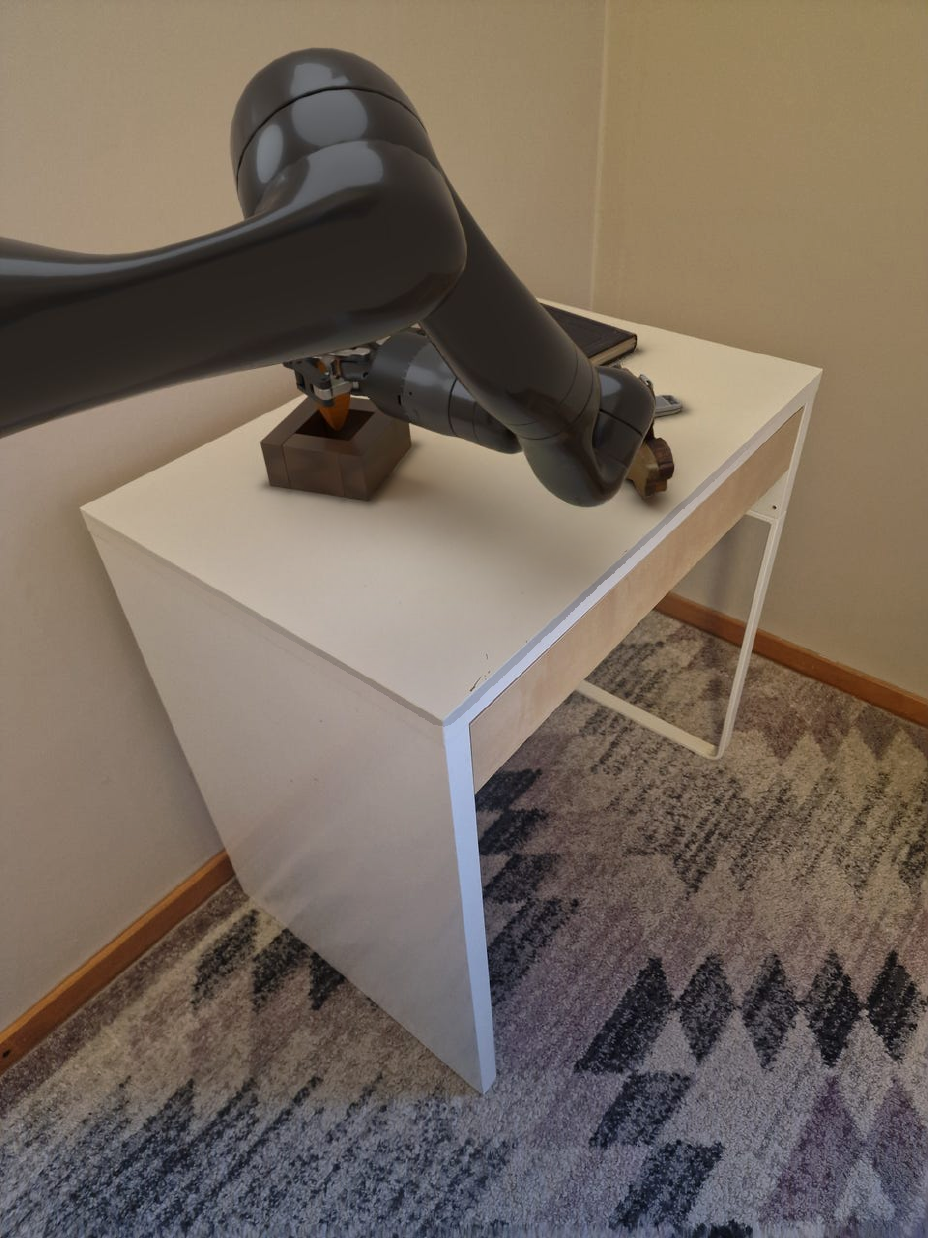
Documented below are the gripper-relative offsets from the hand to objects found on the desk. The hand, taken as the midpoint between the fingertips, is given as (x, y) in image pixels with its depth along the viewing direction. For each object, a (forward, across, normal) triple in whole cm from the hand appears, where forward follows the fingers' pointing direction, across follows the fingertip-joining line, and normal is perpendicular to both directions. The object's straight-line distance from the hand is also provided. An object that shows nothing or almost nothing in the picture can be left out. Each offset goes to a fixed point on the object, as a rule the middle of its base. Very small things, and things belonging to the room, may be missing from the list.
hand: (305, 343), depth 83 cm
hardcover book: (-1, -35, +13) cm, 37 cm away
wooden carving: (-27, -16, +13) cm, 34 cm away
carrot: (-3, 0, +9) cm, 9 cm away
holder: (-2, 0, +13) cm, 13 cm away
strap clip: (-22, -27, +13) cm, 38 cm away
